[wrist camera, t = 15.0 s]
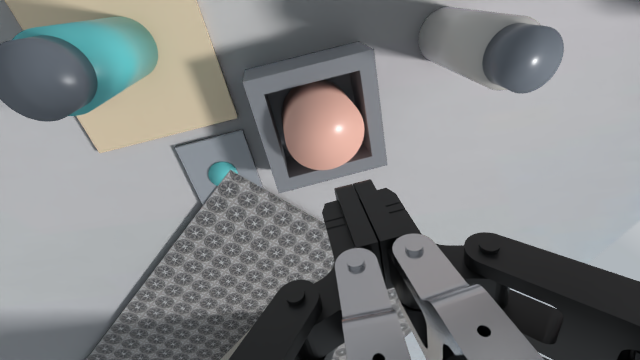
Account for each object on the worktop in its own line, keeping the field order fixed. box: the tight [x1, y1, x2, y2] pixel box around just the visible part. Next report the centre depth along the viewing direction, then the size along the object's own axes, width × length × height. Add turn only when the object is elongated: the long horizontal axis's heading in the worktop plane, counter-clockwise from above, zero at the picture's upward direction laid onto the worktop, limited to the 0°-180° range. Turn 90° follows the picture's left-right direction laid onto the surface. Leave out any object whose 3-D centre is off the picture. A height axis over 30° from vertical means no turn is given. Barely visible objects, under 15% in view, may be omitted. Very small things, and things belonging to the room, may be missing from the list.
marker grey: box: [418, 7, 564, 93], centre depth 19 cm, size 4×4×9 cm
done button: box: [281, 80, 364, 170], centre depth 22 cm, size 5×5×4 cm
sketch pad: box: [5, 0, 238, 153], centre depth 21 cm, size 12×10×1 cm
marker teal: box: [0, 16, 158, 121], centre depth 17 cm, size 4×4×9 cm
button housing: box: [243, 42, 387, 193], centre depth 23 cm, size 8×8×4 cm
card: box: [175, 130, 263, 205], centre depth 26 cm, size 6×5×1 cm
